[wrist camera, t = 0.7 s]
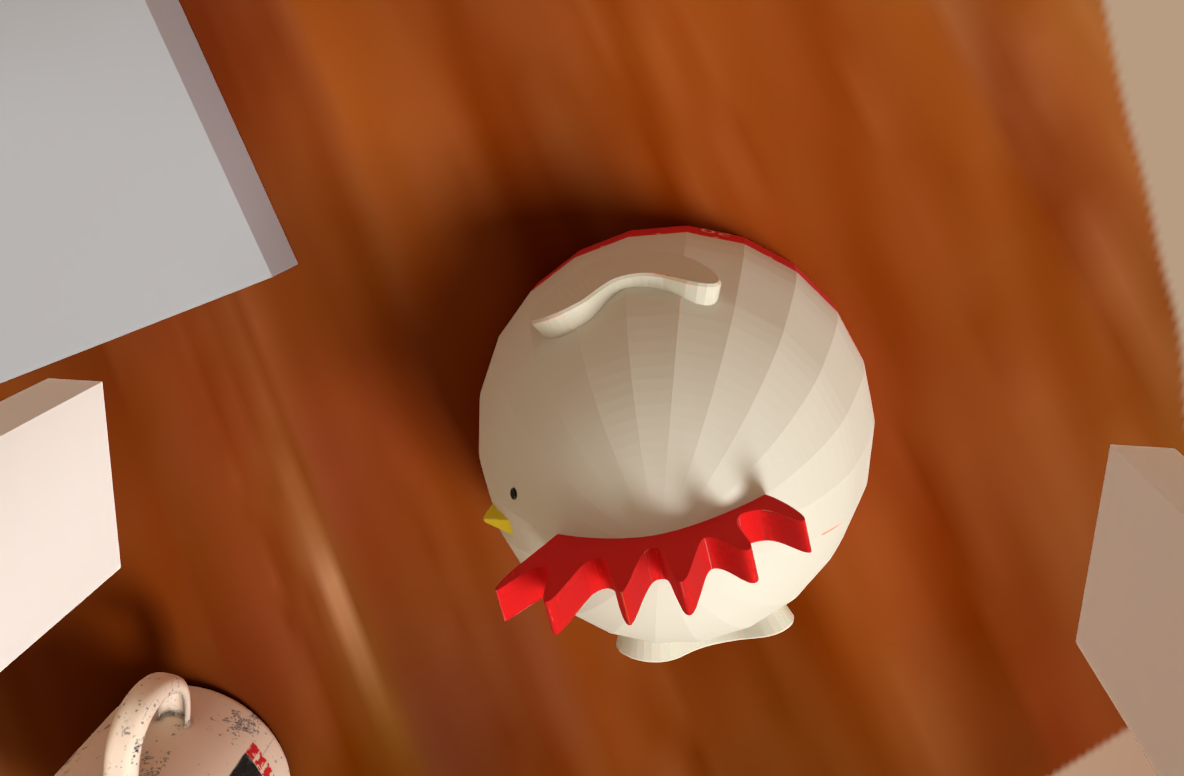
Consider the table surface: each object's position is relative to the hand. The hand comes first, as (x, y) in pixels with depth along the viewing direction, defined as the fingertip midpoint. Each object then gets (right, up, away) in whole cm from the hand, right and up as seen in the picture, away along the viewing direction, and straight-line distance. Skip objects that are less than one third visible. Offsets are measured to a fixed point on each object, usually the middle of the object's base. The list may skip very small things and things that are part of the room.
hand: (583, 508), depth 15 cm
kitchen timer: (+3, +1, +27) cm, 27 cm away
